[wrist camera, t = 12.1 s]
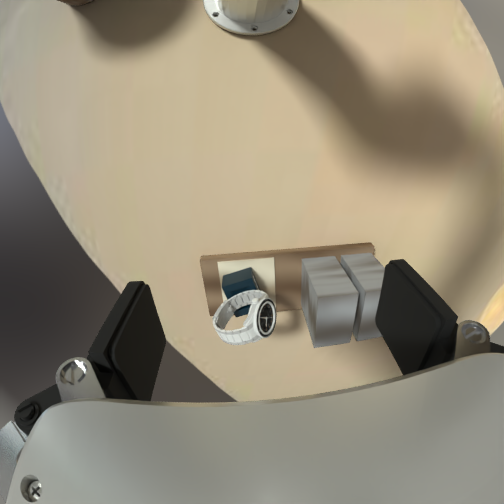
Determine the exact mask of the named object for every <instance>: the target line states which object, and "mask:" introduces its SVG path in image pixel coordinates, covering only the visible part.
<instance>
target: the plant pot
mask: <svg viewBox="0 0 504 504" xmlns="http://www.w3.org/2000/svg"><path fill="white" fill-rule="evenodd" d="M58 1H61V2H63V3H66V4H68V5H76V6H78V5H83V4H86V3H89V2H91V1H93V0H58Z"/></svg>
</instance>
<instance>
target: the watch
mask: <svg viewBox="0 0 504 504" xmlns="http://www.w3.org/2000/svg"><path fill="white" fill-rule="evenodd" d="M222 289H223V291H224V293H225V296H226V298H227V301H226V300H225V301H224V302H223V303H222V304H221V306H220V307H219V308H218V309H217V311H216V313H215V314H214V316H213V326H214V328H215V330H216V331H217V333H218V335H219V337H220V338H221V340H223V341H224V342H226V343H228V344H231V345H232V344H233V345H243V344H246V343H250V342H257V341H258V340H260V339H262V338H267V337H269V336H270V335H271V333H272V332H273V330H274V327H275V324H276V307H275V304H274V302H273V301H272V300H271V299H270V298H269V296H268V294H266V293H265V292H263V291H260V288H259V286H258V283H257V281H256V278H255V275H254V273H253V270H252V268H251V267H249V268H246V269H243V270H239V271H236V272H233V273H230V274H227V275H223V279H222ZM234 314H235V316H236V317H239V316H242V315H246V314H248V317H247V319H246V320H245V322H244V324H243V325H244V326H245V327H242V328H240V329H236V330H227V331H226V330H223V329H224V328H225V326H226V324H227V322H228V321H229V319H230V318H231V317H232V316H233V315H234Z"/></svg>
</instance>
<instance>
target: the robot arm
mask: <svg viewBox="0 0 504 504" xmlns="http://www.w3.org/2000/svg"><path fill="white" fill-rule="evenodd" d="M203 3H204V8H205V11H206V13H207V15H208V16H209V18H210V19H211V20H212V21H213V22H214V23H215V24H216V25H218V26H219V27H221V28H223V29H225V30H227V31H229V32H233V33H236V34H242V35H262V34H267V33H271V32H274V31H276V30H278V29H281V28H282V27H284V26H285V25H287V24H288V23H289V22H290V21H291V20H292V19H293V17H294V16H295V14H296V12H297V9H298V7H299V0H203ZM288 13H290V14H288ZM215 16H218V17H215ZM253 29H256V31H253ZM457 318H458V316H457V315H456V314H455V313H454V312H453V310H452V309H451V308H450V307H449V306H448V305H447V304H446V303H445V301H444V300H443V299H442V298H441V297H440V296H439V295H438V294H437V293H436V292H435V291H434V290H433V289H432V287H431V286H430V285H429V284H428V283H427V282H426V281H425V280H424V279H423V278H422V277H421V276H420V275H419V274H418V273H417V272H416V271H415V270H414V269H413V268H412V267H411V266H410V265H409V264H408V263H407V262H406V261H405V260H404V259H400V260H391V261H390V262H389V264H387V265H386V266H385V271H384V277H383V282H382V288H381V293H380V298H379V303H378V307H377V312H376V316H375V323H376V326H377V328H378V329H379V331H380V333H381V335H382V336H383V338H384V340H385V342H386V344H387V345H388V347H389V349H390V351H391V353H392V354H393V356H394V358H395V360H396V362H397V364H398V366H399V368H400V369H401V371H402V373H403V376H399V377H396V378H392V379H388V380H384V381H380V382H376V383H372V384H367V385H363V386H358V387H353V388H348V389H343V390H338V391H332V392H326V393H320V394H314V395H307V396H299V397H291V398H282V399H272V400H260V401H246V402H223V403H181V402H178V403H177V402H153V401H150V400H151V396H152V392H153V389H154V385H155V381H156V377H157V373H158V370H159V366H160V362H161V359H162V355H163V352H164V348H165V344H166V338H165V334H164V331H163V328H162V325H161V322H160V319H159V316H158V313H157V310H156V307H155V304H154V300H153V297H152V294H151V290H150V287H149V285H148V284H145V283H144V282H143V281H133V282H129V283H128V284H127V286H126V287H125V289H124V290H123V292H122V294H121V295H120V297H119V299H118V300H117V302H116V304H115V305H114V307H113V309H112V311H111V312H110V314H109V316H108V317H107V319H106V321H105V322H104V324H103V326H102V328H101V330H100V331H99V333H98V335H97V337H96V339H95V341H94V342H93V344H92V346H91V348H90V350H89V355H88V357H87V359H85V358H81V357H77V358H72V359H69V360H68V361H66V362H64V363H63V364H62V365H61V366H60V368H59V369H58V371H57V374H56V381H57V384H55V385H53V386H51V387H49V388H48V389H46V390H44V391H42V392H40V393H38V394H36V395H34V396H32V397H30V398H29V399H27V400H25V401H23V402H22V403H21V404H20V405H19V406H18V407H17V410H16V411H15V416H14V418H15V422H14V423H13V422H12V421H9V422H8V423H7V424H6V425H5V426H4V427H3V428H2V429H1V430H0V495H1V496H2V498H3V500H4V502H5V503H6V504H504V346H501V345H498V344H495V343H492V342H490V335H489V332H488V330H487V329H486V328H485V327H484V326H483V325H482V324H480V323H478V322H476V321H472V320H465V321H463V322H461V323H460V324H459V325H458V324H457V323H456V321H457Z"/></svg>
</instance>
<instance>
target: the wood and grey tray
mask: <svg viewBox="0 0 504 504" xmlns="http://www.w3.org/2000/svg"><path fill="white" fill-rule="evenodd" d="M373 254H374V246H373V245H372V243H358V244H346V245H333V246H321V247H308V248H296V249H283V250H271V251H258V252H245V253H233V254H220V255H208V256H201V259H200V264H201V270H202V276H203V281H204V287H205V292H206V297H207V303H208V308H209V313H210V316H214V314H215V313H216V311H217V309H218V308H219V307H220V306H221V304H222V303H223V302H224V301H225V300H226V301H227V298H226V296H225V293H224V291H223V289H222V279H223V275H227V274H230V273H233V272H236V271H239V270H243V269H246V268H249V267H251V268H252V270H253V273H254V275H255V278H256V281H257V283H258V286H259V288H260V291H263V292H265V293H266V294H268V296H269V298H270V299H271V300H272V301H273V302H274V304H275V307H276V311H286V310H296V309H303V313H304V316H305V319H306V322H307V326H308V329H309V332H310V336H311V339H312V342H313V346H314V348H317V347H324V346H331V345H337V344H344V343H350V340H351V335H352V332H353V334H354V336H355V339H356V341H361V340H366V339H372V338H377V337H382V335H381V333H380V331H379V329H378V328H377V326H376V323H375V316H376V312H377V307H378V303H379V298H380V293H381V288H382V282H383V277H384V271H385V268H384V267H383V266H382V264H381V263H380V262H379V261H378V260H377V259H376V258H375V257H374V256H373ZM234 315H235V314H234Z"/></svg>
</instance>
